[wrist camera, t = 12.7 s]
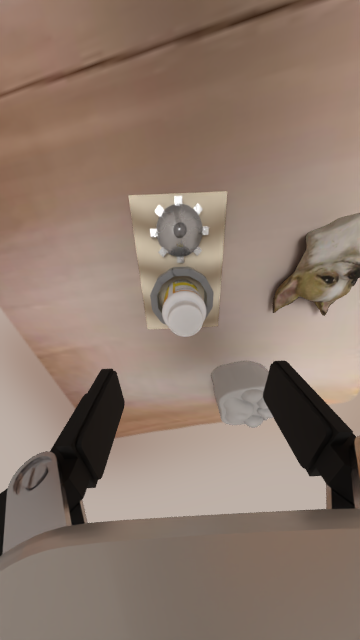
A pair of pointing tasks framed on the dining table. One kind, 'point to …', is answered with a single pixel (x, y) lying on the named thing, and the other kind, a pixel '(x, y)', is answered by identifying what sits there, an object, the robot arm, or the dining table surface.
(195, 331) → the supplement bottle
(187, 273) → the socket ring
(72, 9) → the dining table surface
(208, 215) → the gear board
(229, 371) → the lumpy-topped squat cylinder
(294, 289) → the ceramic sculpture
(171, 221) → the gear
